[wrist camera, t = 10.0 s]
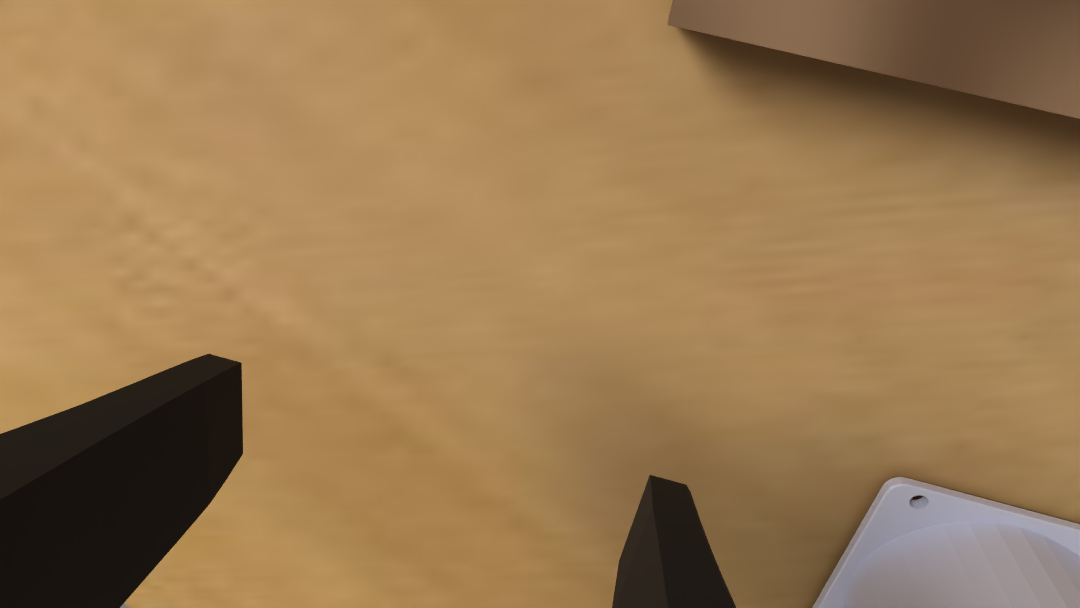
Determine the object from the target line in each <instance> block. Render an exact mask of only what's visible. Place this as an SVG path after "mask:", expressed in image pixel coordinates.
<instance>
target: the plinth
mask: <svg viewBox="0 0 1080 608" xmlns="http://www.w3.org/2000/svg"><path fill="white" fill-rule="evenodd" d="M668 25H671V26H675V27H679V28H684V29H688V30H692V31H697V32H701V33H706V34H710V35H714V36H719V37H723V38H728V39H732V40H736V41H741V42H745V43H750V44H754V45H758V46H763V47H767V48H771V49H776V50H780V51H785V52H789V53H793V54H798V55H802V56H807V57H811V58H815V59H820V60H824V61H828V62H833V63H837V64H842V65H846V66H850V67H855V68H859V69H864V70H868V71H872V72H877V73H881V74H885V75H890V76H894V77H899V78H903V79H907V80H912V81H916V82H921V83H925V84H929V85H934V86H938V87H942V88H947V89H951V90H956V91H960V92H964V93H969V94H973V95H978V96H982V97H986V98H991V99H995V100H999V101H1004V102H1008V103H1013V104H1017V105H1021V106H1026V107H1030V108H1035V109H1039V110H1043V111H1048V112H1052V113H1057V114H1061V115H1065V116H1070V117H1074V118H1078V119H1080V0H673V3H672V7H671V11H670V15H669V20H668Z"/></svg>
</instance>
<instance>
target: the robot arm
mask: <svg viewBox="0 0 1080 608" xmlns="http://www.w3.org/2000/svg"><path fill="white" fill-rule="evenodd" d="M242 454H243V429H242V370H241V363H240V362H237V361H233V360H229V359H226V358H222V357H218V356H215V355H211V354H207V355H204V356H201V357H198V358H195V359H193V360H190V361H187V362H185V363H182V364H180V365H177V366H175V367H172V368H170V369H167V370H165V371H162V372H160V373H158V374H155V375H153V376H150V377H148V378H145V379H143V380H141V381H138V382H136V383H133V384H131V385H128V386H126V387H123V388H121V389H119V390H116V391H114V392H111V393H109V394H106V395H104V396H101V397H99V398H96V399H94V400H91V401H89V402H86V403H84V404H81V405H79V406H76V407H73V408H71V409H68V410H65V411H63V412H60V413H57V414H54V415H52V416H49V417H46V418H43V419H41V420H38V421H35V422H32V423H30V424H27V425H24V426H22V427H19V428H16V429H13V430H11V431H8V432H5V433H2V434H0V608H120V606H122V604H123V603H124V602H125V601H126V600H127V599H128V598H129V596H130V595H131V594H132V593H133V592H134V591H135V590H136V588H137V587H138V586H139V585H140V584H141V583H142V581H143V580H144V579H145V578H146V577H147V576H148V575H149V573H150V572H151V571H152V570H153V569H154V568H155V567H156V565H157V564H158V563H159V562H160V561H161V560H162V559H163V557H164V556H165V555H166V554H167V553H168V552H169V551H170V549H171V548H172V547H173V546H174V545H175V544H176V543H177V541H178V540H179V539H180V538H181V537H182V536H183V534H184V533H185V532H186V531H187V530H188V529H189V527H190V526H191V525H192V524H193V523H194V522H195V520H196V519H197V518H198V517H199V516H200V515H201V513H202V512H203V511H204V510H205V509H206V507H207V506H208V505H209V504H210V503H211V501H212V500H213V498H214V497H215V495H216V494H217V492H218V491H219V490H220V488H221V487H222V485H223V484H224V482H225V481H226V479H227V478H228V476H229V475H230V473H231V471H232V470H233V468H234V467H235V465H236V464H237V462H238V461H239V459H240V457H241V456H242ZM917 495H921V496H923V497H922V498H920V499H917V500H911V498H912V497H914V496H917ZM612 608H736V606H735V604H734V602H733V599H732V597H731V595H730V593H729V590H728V588H727V586H726V583H725V581H724V579H723V577H722V574H721V572H720V570H719V567H718V565H717V563H716V560H715V558H714V555H713V553H712V550H711V548H710V545H709V543H708V540H707V537H706V535H705V532H704V529H703V527H702V524H701V521H700V518H699V516H698V513H697V510H696V507H695V504H694V501H693V498H692V495H691V492H690V490H689V489H688V487H687V485H685V484H681V483H678V482H674V481H670V480H667V479H663V478H659V477H656V476H652V475H650V476H649V479H648V482H647V485H646V487H645V490H644V493H643V496H642V499H641V501H640V504H639V507H638V510H637V513H636V515H635V518H634V521H633V524H632V527H631V529H630V532H629V535H628V538H627V541H626V543H625V546H624V549H623V552H622V555H621V557H620V560H619V566H618V573H617V579H616V586H615V592H614V599H613V606H612ZM812 608H1080V524H1077V523H1073V522H1070V521H1066V520H1062V519H1058V518H1055V517H1051V516H1047V515H1044V514H1040V513H1036V512H1032V511H1029V510H1025V509H1021V508H1017V507H1014V506H1010V505H1006V504H1002V503H999V502H995V501H991V500H987V499H984V498H980V497H976V496H973V495H969V494H965V493H961V492H958V491H954V490H950V489H946V488H943V487H939V486H935V485H931V484H928V483H924V482H920V481H917V480H913V479H909V478H904V477H896V478H892V479H890V480H888V481H886V482H885V484H884V485H883V486H882V488H881V489H880V491H879V493H878V495H877V496H876V498H875V500H874V501H873V503H872V505H871V507H870V508H869V510H868V512H867V514H866V515H865V517H864V519H863V521H862V522H861V524H860V526H859V527H858V529H857V531H856V533H855V534H854V536H853V538H852V540H851V541H850V543H849V545H848V547H847V548H846V550H845V552H844V553H843V555H842V557H841V559H840V560H839V562H838V564H837V566H836V567H835V569H834V571H833V573H832V574H831V576H830V578H829V579H828V581H827V583H826V585H825V586H824V588H823V590H822V592H821V593H820V595H819V597H818V599H817V600H816V602H815V604H814V605H813V607H812Z"/></svg>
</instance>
